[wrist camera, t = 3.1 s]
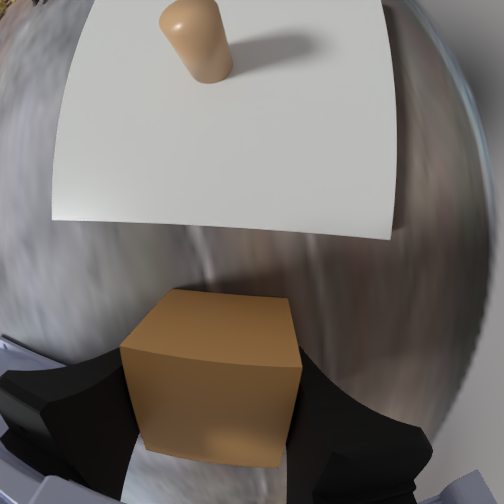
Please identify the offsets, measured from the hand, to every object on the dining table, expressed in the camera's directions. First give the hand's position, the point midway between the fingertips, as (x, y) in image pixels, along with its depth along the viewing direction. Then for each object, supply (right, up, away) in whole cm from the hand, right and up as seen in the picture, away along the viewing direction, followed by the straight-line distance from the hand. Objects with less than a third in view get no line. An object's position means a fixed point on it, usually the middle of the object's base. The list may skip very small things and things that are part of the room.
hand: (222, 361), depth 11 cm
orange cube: (0, 0, +1) cm, 1 cm away
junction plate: (0, +12, -1) cm, 12 cm away
